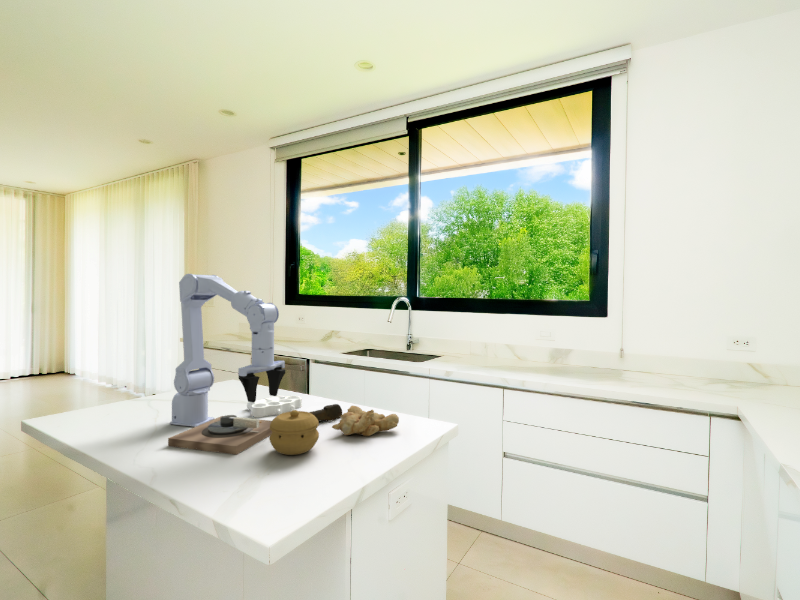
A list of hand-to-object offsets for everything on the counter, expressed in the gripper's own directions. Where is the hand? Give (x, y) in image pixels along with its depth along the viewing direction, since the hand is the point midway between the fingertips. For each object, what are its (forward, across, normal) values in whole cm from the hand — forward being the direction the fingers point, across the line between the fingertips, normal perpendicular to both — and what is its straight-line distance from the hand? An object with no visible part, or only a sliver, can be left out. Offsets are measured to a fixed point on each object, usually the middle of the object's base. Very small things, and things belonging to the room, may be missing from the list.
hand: (262, 398), depth 112 cm
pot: (+10, -4, -15) cm, 18 cm away
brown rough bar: (+11, +16, -4) cm, 20 cm away
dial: (+8, -4, +6) cm, 11 cm away
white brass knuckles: (+11, +21, +17) cm, 29 cm away
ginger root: (+11, +16, -21) cm, 29 cm away
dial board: (+10, -5, +8) cm, 14 cm away
